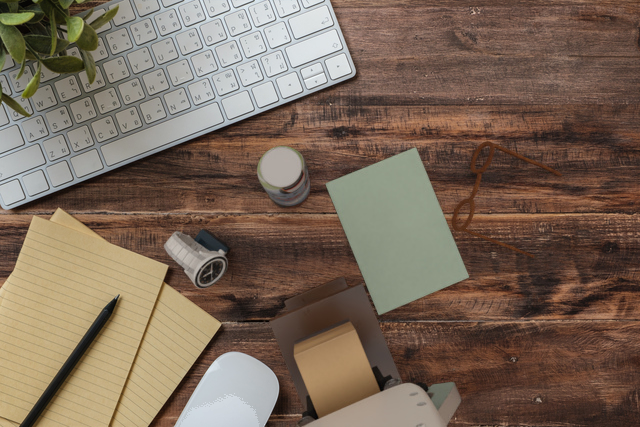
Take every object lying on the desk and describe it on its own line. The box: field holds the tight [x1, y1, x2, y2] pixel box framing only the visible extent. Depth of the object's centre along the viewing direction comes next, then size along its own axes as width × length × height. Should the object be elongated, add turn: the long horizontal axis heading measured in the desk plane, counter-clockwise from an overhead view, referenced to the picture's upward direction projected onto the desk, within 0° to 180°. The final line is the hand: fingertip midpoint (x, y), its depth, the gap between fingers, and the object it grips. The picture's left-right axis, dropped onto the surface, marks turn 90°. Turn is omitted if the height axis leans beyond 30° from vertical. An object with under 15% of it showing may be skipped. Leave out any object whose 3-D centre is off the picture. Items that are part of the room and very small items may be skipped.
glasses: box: [451, 140, 563, 259], centre depth 66 cm, size 13×13×5 cm
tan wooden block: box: [294, 318, 381, 419], centre depth 38 cm, size 12×5×5 cm, turn 22°
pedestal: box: [268, 275, 404, 412], centre depth 57 cm, size 14×10×20 cm
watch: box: [163, 228, 232, 290], centre depth 61 cm, size 6×8×11 cm
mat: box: [324, 146, 470, 316], centre depth 68 cm, size 20×14×1 cm
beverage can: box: [256, 145, 312, 210], centre depth 62 cm, size 6×7×12 cm
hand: (348, 398), depth 40 cm, fingers closed on tan wooden block, 5 cm apart
